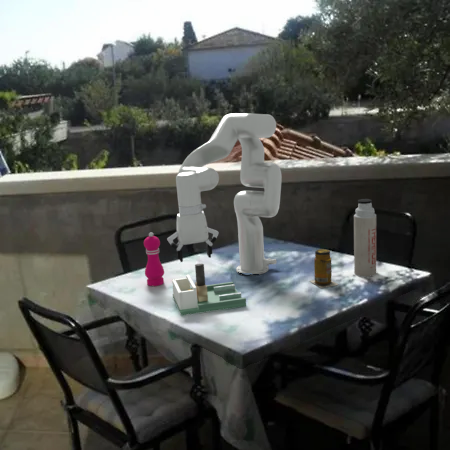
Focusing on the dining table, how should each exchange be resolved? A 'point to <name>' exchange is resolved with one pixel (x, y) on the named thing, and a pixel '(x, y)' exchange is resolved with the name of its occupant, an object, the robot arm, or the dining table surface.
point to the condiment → (323, 269)
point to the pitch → (214, 301)
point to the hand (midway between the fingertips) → (195, 258)
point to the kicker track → (225, 289)
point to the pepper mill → (153, 261)
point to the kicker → (201, 283)
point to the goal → (185, 293)
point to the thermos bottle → (365, 239)
